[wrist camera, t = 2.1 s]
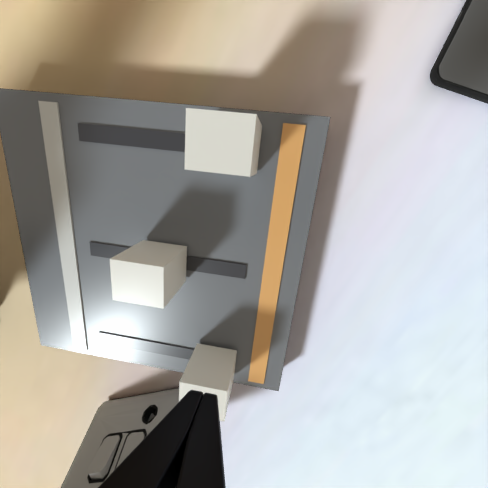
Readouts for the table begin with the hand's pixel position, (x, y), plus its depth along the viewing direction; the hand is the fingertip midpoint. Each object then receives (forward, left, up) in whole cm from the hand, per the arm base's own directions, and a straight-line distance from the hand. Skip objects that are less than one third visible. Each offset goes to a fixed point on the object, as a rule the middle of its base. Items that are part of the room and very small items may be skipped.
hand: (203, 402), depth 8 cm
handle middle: (-5, 0, -9) cm, 11 cm away
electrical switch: (-7, -17, -12) cm, 22 cm away
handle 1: (-1, +8, -9) cm, 12 cm away
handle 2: (-1, -7, -9) cm, 12 cm away
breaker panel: (-6, 0, -12) cm, 13 cm away
